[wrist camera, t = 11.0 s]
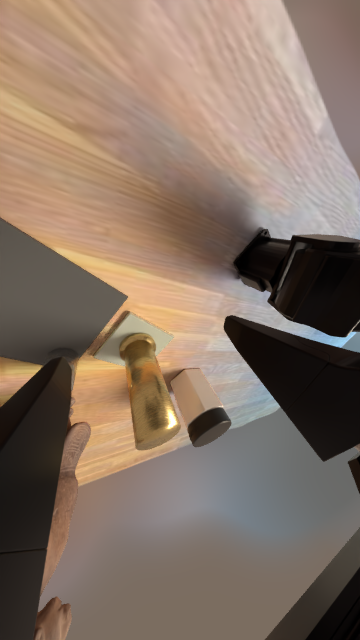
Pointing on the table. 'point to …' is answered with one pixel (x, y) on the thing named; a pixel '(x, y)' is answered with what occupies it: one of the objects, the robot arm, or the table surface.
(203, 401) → the jar
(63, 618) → the clay figurine
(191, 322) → the table surface
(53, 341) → the mat
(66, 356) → the spacers
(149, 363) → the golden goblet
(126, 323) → the tile
